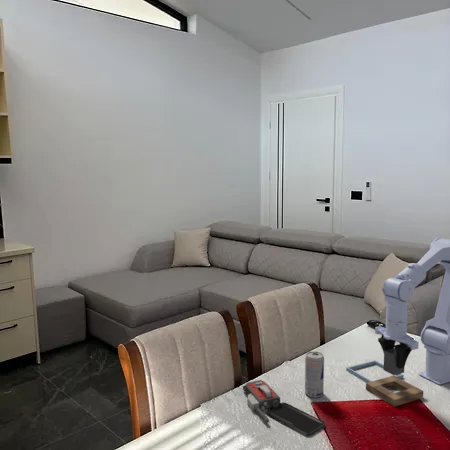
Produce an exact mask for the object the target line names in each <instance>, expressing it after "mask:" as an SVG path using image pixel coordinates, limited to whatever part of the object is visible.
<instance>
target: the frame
mask: <svg viewBox="0 0 450 450" xmlns="http://www.w3.org/2000/svg"><path fill="white" fill-rule="evenodd" d="M373 365H376V366H378V367H379V368H381V369H383V370H384V363H381V362H379V361H377V360H374V359H373V360H371V361H367V362H364V363H360V364H354V365H351V366H347V367H345V371H347V372H348V373H350V374H352V375H353V376H355V377H356V378H359V379H360V380H362V381H363V382H365V383H368V382H372V381H373V380H371V379H369V378H368V377H366V376H364V375H362V374H360V373H359V372H357V371H355V370H358V369H361V368H365V367H369V366H373ZM395 376H396V377H398V378H400V379H401V380H403V379H404V373H401V374H397V375H395Z"/></svg>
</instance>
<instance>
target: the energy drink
mask: <svg viewBox="0 0 450 450" xmlns="http://www.w3.org/2000/svg"><path fill="white" fill-rule="evenodd" d="M304 359H305V361H304V363H305V364H304V366H305V367H304V369H305V370H304V371H305V372H304V380H305V381H304V394H305V395H306V396H308V397H310V398H313V399H318V398H322V396H323V395H324V384H325V383H324V379H325V375H324V374H325V372H324V371H325V358H324V354H323V353H322V352H318V351H308V352H306V355H305V358H304Z"/></svg>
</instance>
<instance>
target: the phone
mask: <svg viewBox="0 0 450 450" xmlns="http://www.w3.org/2000/svg"><path fill="white" fill-rule="evenodd" d="M265 410H266V411H265V415H266V416H267V417H270V418H271V419H274V420H275V421H277V422H279V423H281V424H283V425H284V426H286V427H288V428H290V429H291V430H293V431H296V432H297V433H298V434H300V435H303V436H304V437H312V436H313V435H315V434H316V433H317V432H319V431H321V430H323V429H324V428H326V422H325V421H324V420H321V419H319V418H317V417H315V416H313V415H311V414H309V413H307V412H305V411H304V410H302V409H299V408H297V407H295V406H293V405H292V404H289V403H288V402H280V404H279V406H278V407H272V408H270V409H265Z"/></svg>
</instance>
